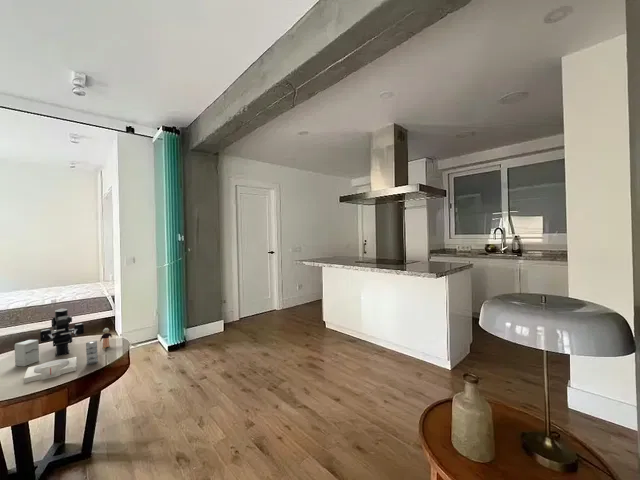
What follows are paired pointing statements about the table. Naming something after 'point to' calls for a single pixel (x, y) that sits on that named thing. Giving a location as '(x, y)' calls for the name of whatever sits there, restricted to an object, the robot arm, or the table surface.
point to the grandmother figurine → (106, 338)
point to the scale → (50, 369)
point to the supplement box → (26, 352)
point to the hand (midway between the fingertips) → (63, 337)
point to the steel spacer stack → (91, 352)
